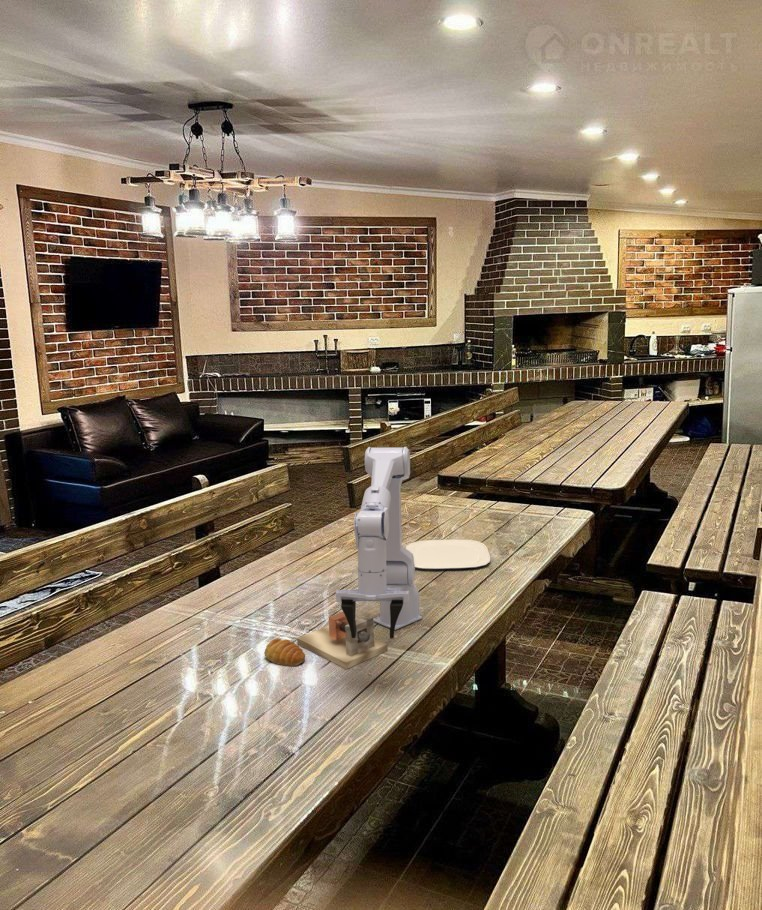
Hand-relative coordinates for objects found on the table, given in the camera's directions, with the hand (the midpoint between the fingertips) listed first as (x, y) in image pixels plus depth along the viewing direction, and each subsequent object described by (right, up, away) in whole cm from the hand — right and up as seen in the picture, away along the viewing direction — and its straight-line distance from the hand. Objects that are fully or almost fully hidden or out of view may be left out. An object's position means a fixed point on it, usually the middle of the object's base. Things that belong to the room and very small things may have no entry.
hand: (372, 636), depth 154 cm
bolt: (-5, -5, +16) cm, 18 cm away
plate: (+21, +5, +76) cm, 79 cm away
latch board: (-7, -7, +19) cm, 22 cm away
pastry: (-20, -9, +16) cm, 26 cm away
